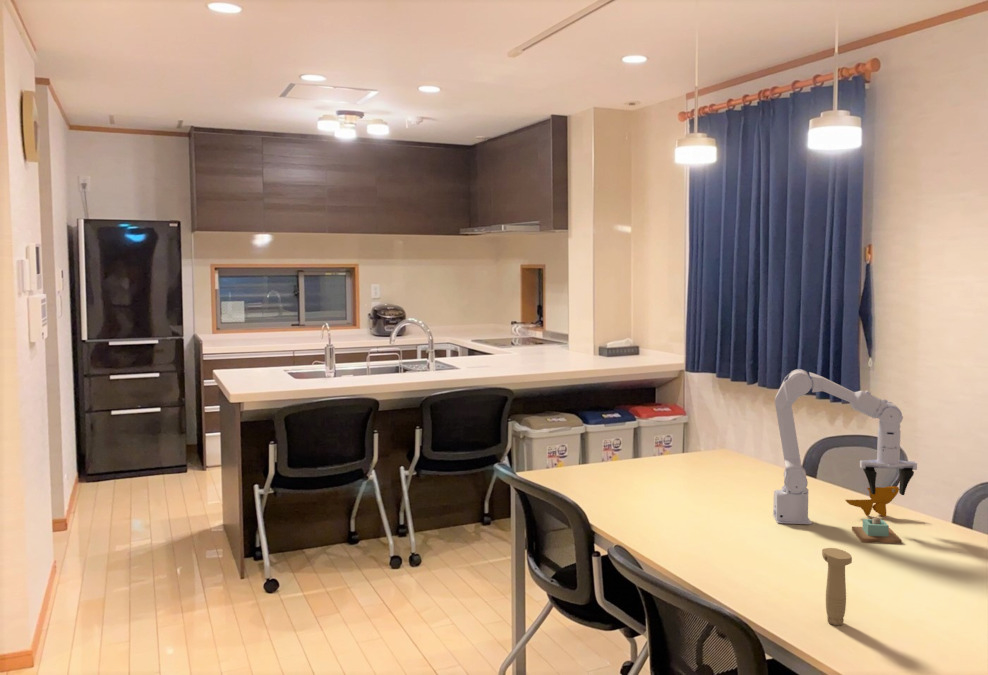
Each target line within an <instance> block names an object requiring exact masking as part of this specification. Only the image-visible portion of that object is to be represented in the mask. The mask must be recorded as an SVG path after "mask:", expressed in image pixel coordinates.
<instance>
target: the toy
mask: <svg viewBox="0 0 988 675" xmlns="http://www.w3.org/2000/svg"><path fill="white" fill-rule="evenodd" d="M866 489H867V490H868V493H869V498H870V499H844V501H845V502H846V503H847V504H848V505H850V506H853V507H857V508H861V510H862V511H863V512H864V515H865V516H867V517H869V516H870V514H871V513H872V510H873V511H874V512H875V513H877V514H878V515H880V516H881V517H884V518H887V506H886V505H888V504H889V503H891V502H892V501H893V500H894V499H895V498H896V496H897V495H898V494H899V487H898V486H895V485H894V486H893V485H891V486H884V487H882V486H881V487H876V486H875V489H876V491H875V494H872V493H871V492H870V487H867V488H866Z"/></svg>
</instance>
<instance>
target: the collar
mask: <svg viewBox="0 0 988 675" xmlns="http://www.w3.org/2000/svg"><path fill="white" fill-rule="evenodd" d="M862 527H863V531H864V532H865V533H866V534H867V535H868V536H888V534H889V528H890V526H889V524H888V523H887V522H886V521H885V520H884V519H881V520H880V524H872V519H871V518H863V519H862Z"/></svg>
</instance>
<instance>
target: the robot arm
mask: <svg viewBox="0 0 988 675" xmlns="http://www.w3.org/2000/svg"><path fill="white" fill-rule="evenodd" d="M810 390H811V392H812V393H818V392H824V393H826V394H829V395H831V396H833V397H836V398H838V399H840V400H844V401H846V402H849V404H850V407H851V409H853V410H854V411H857V412H858V413H861V414H863V415H866V416H867V417H870V418H872V419H878V428H877V444H876V445H877V446H876V447H877V448H876V449H877V450H876V453H877V454H876V459H866V460H865V459H863V460H859V468H860V469H862V470H863V472H864V473H865V476H866V478H867V482H868V485H869V488H870V492H871V493H872V494H875V491H876V489H875V487H876V481H877V480H876V479H877V471H876V469H890V470H891V469H892V470H893V469H894V470H898V471H899V491H898V494H900V496H905V494H906V490H907V488H908V485H909V483H910V480H911V479H912V478H913V476H914V474H915V471H917V470H918V463H917V462H916V461H909V460H901V458H900V457H901V456H900V454H901V423H902V422H903V419H904V416H903V414H902V411H901V409H900V408H899V407H898V406H897V405H896V404H894V403H893V402H891V401H889V400H888V399H886V398H883V399H881V398H879V397H877V396H875V395H872V393H871V392H872V391H869V390H865V391H864V390H858V391H853V390H850V389H848V388H846V387H845V386H842V385H841V384H838V383H836V382H834V381H833V380H830V379H828V378H826V377H824V376H821V375H820V374H816V373H814V372H810V371H809V372H808V371H806V370H805V369H800V368H797V369H794V370H791V371H790V373H788V374H787V375H786V376H785V377H784V378H783V380H782V383H781V385H780V387H779V388H778V391H777V392H776V394H775V398H774V406H775V411H776V418H777V424H778V430H779V435H780V442H781V449H782V453H783V459H784V461H783V462H784V468H785V469H784V472H783V477H784V479H783V481H784V482H783V483H784V485H783V486H782V487H781V489H774V491H773V512H772V516H773V517H774V519H775V521H776V523H778V524H786V525H787V524H789V525H791V524H792V525H793V524H794V525H812V521H811V520H810V518H809V489H808V488H807V487H808V483H809V482H808V477H807V471H806V469H805V468H804V467H803V465H802V460H801V457H800V456H801V455H800V449H799V448H800V447H799V442H798V437H797V432H796V429H797V428H796V424H795V417H794V411H793V407H792V406H793V405H794V403H795V402H796V401H797V400H798V399H799V398H800V397H802V396H804V395H806V394H807V393H809V392H810Z"/></svg>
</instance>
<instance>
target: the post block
mask: <svg viewBox="0 0 988 675" xmlns="http://www.w3.org/2000/svg"><path fill="white" fill-rule="evenodd" d="M880 520H882V519H881V518H880V517H872V524H880ZM851 530H852V532H853V533H854V534H856V535H855V536H856V537H857V538H858V540H860V542H861V543H872V542H882V543H881V544H897V543H902V541H903V540H902V539H901V538H900V536H898V535H897V534H896V533H895V531H894V530H892V529H891V528H890V527H889V534H888V536H868V535H867V534H866V533H865V532H864V531H863V526H851Z"/></svg>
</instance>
